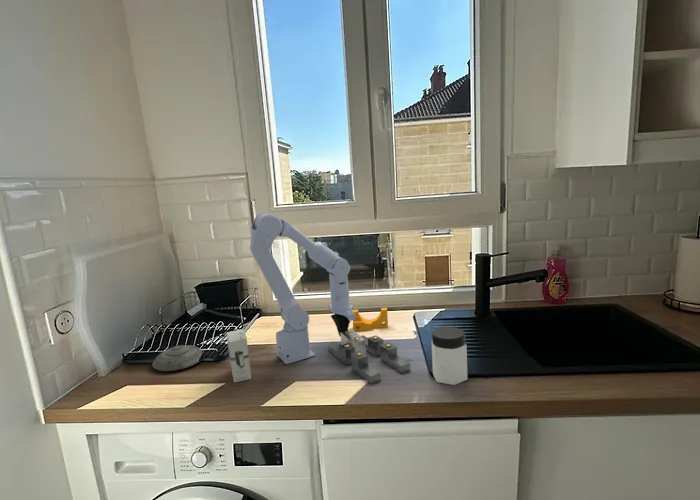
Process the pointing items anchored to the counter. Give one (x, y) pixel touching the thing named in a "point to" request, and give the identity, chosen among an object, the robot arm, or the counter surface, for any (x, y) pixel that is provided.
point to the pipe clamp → (370, 321)
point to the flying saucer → (177, 358)
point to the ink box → (238, 355)
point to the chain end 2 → (387, 356)
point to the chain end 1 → (346, 350)
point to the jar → (449, 355)
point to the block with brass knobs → (353, 340)
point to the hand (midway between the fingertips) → (343, 336)
